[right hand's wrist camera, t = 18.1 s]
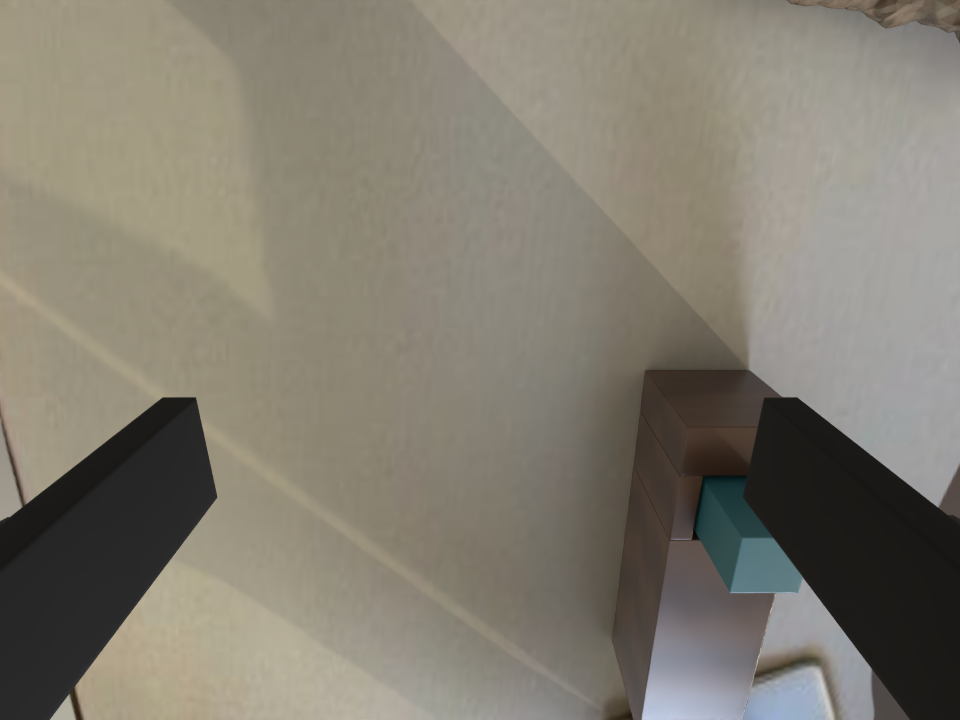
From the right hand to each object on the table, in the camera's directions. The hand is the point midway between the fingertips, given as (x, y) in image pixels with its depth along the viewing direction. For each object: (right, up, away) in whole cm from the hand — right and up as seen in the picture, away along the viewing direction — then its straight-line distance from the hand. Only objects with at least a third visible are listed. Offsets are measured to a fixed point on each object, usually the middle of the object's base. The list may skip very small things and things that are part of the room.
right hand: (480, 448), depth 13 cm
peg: (+16, -4, +30) cm, 35 cm away
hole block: (+17, -12, +33) cm, 39 cm away
